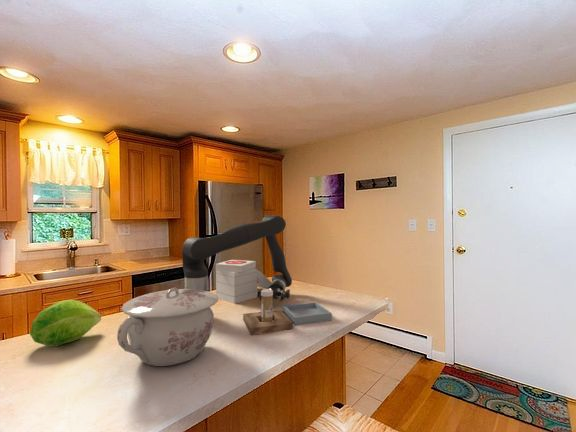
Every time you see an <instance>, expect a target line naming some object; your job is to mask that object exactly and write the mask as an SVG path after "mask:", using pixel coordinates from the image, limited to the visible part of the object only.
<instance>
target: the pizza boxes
mask: <svg viewBox="0 0 576 432" xmlns="http://www.w3.org/2000/svg"><path fill="white" fill-rule="evenodd" d="M256 266H257V263H256V260H245V259H242V260H241V259H230V260H226V261H221V262H219V263H218V262H217V263H215V295H216V296H217V297H218V300H222V301H225V302H228V303H231V304H234V305H235V304H238V303H242V302H245V301H249V300H251V299H255V298H258V297H257V292H258V288H260V289H268V287H269V286H270V284H271V283H272V280H270V279H269V278H268V277H266V276H265V274H263V273H262V272H261V271H260V270H258V268H257V267H256Z"/></svg>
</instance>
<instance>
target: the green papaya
mask: <svg viewBox="0 0 576 432" xmlns="http://www.w3.org/2000/svg"><path fill="white" fill-rule="evenodd" d="M101 321H102V315H101V314H100V312H98V311H97V310H95V308H94V307H92V306H90V305H89V304H87V303H85V302H82V301H80V300H76V299H75V300H74V299H65V300H61V301H57V302H54V303H53V304H51V305H50V306H48V307H46V308H45V309H43V310H41V311H40V312H39V313H38V314H37V316H36V317H35V318H34V319H33V321H32V323H31V327H30V333H29V335H30V337H31V338H32V340H33V342H34V343H37V344H40V345H42V346H43V345H44V346H49V347H58V346H61V345H65V344H68V343H70V342H74V341H77V340H79V339H80V338H82V337H84V336H85V335H86V334H87V333H88V332H89V331H90V330H91V329H92V328H94V327H95V326H96V325H98V324H99V323H100V322H101Z"/></svg>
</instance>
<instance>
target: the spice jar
mask: <svg viewBox="0 0 576 432" xmlns="http://www.w3.org/2000/svg"><path fill="white" fill-rule="evenodd" d="M272 295H273V290H270V289H265V288H263V290H262V291H261V296H262V300H261V307H260V308H261V311H260V312H261V316H262V322H269V321H274V320H273V311H274V309H273V308H274V307H273V303H274V302H273V298H272Z"/></svg>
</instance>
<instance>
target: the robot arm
mask: <svg viewBox="0 0 576 432" xmlns="http://www.w3.org/2000/svg"><path fill="white" fill-rule="evenodd" d="M286 225H287V224H286V220H285V219H284V217H282V216H280V215H275V214H266V215H265V216H263V218H262V220H261V221H260V222H252V223H243V224H238V225H236V226H233V227H230V228H228V229H226V230H224V231H223V232H222V233H220V234H217V235H214V236H213V235H212V236H209V237H193V236H192V237H189V238H187V239H186V240H185V241H184V242H183V244H182V251H181V256H182V257H181V258H182V260H181V261H182V269H183V273H184V289H195V290H203V291H207V292H209V278H208V277H209V275H208V274H209V272H208V271H209V270H208V268H207V266H206V264H205V262H204V261H205V260H206V259H208V258H210V257H213V256H215V255H218V254H219V253H221V252H224V251H228V250H231V249H236V248H238V247H240V246H241V247H242V246H244V245H246V244H249V243H253V242H254V241H258V240H260V239H263V238H265V240H266V243H267V246H268V250H269V254H270V258H271V264H272V270H273V271H274V272H276V273H278V274H274V275H273V276H272V277H271V282H272V283H271V284H270V286H269V287H268V289H270V290H273V295H272V299H275V300H278V299H280V300H279V301H281V302H283V300H285V299H290V297H291V290H290V289H286V288H288V287H289V288H290V286H292V283H293V280H292V276H291V274H290V272H289V270H288V267H287V264H286V257H285V253H284V251H283V249H282V247H281V246H280V243H279V241H278V239H277V235H279V234H281V233H282V232H284V231H285V228H286ZM279 273H280V274H279ZM262 290H264V288H260V289H258V290H257V297H256V298H259V299H260V301H262V296H261V291H262Z"/></svg>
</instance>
